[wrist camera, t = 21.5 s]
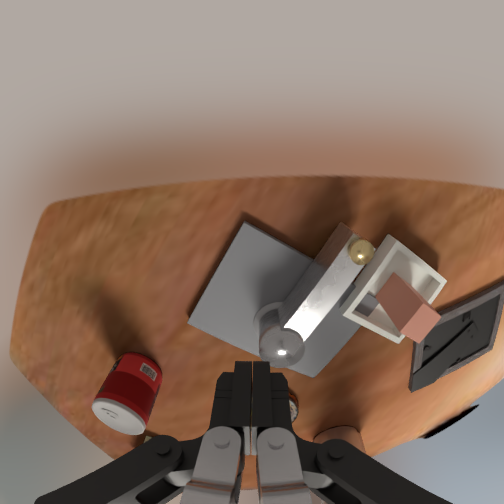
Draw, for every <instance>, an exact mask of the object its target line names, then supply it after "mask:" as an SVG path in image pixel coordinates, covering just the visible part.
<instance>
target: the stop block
mask: <svg viewBox="0 0 504 504" xmlns="http://www.w3.org/2000/svg"><path fill="white" fill-rule="evenodd" d="M375 298H376V299H377V300H378V302H379V303H380V305H381V306H382V307H383V309H384V310H385V312H386V313H387V315H388V316H389V317H390V319H391V320H392V322H393V323H394V325H395V326H396V328H397V329H398V330H399V332H400V333H402V334H404V335H405V336H407V337H409V338H410V339H412V340H414V341H415V342H417V343H420V342H421V341H422V340H423V339H424V338H425V336H426V335H427V334H428V333H429V332H430V330H431V329H432V328H433V327H434V326H435V324H436V323H437V322H438V321H439V319H440V318H441V316H440V315H439V314H438V313H437V312H436V310H435V309H434V308H433V307H432V306H431V305H430V304H429V303H428V302H427V301H426V300H425V299H424V298H423V297H422V296H421V295H420V294H419V293H418V292H417V291H416V290H415V289H414V288H413V287H412V286H411V285H410V284H409V283H407V282H406V281H405V280H404V279H402V278H401V277H400V276H398V275H397V274H396V273H394V272H393V273H392V275H391V276H390V277H389V279H388V280H387V281H386V283H385V284H384V285H383V287H382V288H381V289H380V291H379V292H378V293H377V294H376V296H375Z"/></svg>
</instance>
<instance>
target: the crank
mask: <svg viewBox="0 0 504 504" xmlns="http://www.w3.org/2000/svg"><path fill="white" fill-rule="evenodd" d="M375 250H376V249H375V248H374V247H373V245H372V244H371V243H370V242H369V241H368V240H366V239H365V238H363V237H362V236H361V235H359V234H358V233H356V232H355V231H354V230H352V229H351V228H349V227H348V226H346V225H345V224H344V223H342V222H341V221H340V223H339V224H338V226H337V227H336V229H335V230H334V232H333V233H332V235H331V236H330V238H329V239H328V240H327V242H326V243H325V245H324V246H323V248H322V249H321V251H320V252H319V253H318V255H317V256H316V258H315V259H314V261H313V262H312V263H311V265H310V266H309V268H308V269H307V270H306V272H305V273H304V275H303V276H302V277H301V279H300V280H299V281H298V283H297V284H296V286H295V287H294V288H293V290H292V291H291V292H290V294H289V295H288V296H287V298H286V299H285V300H284V302H283V303H282V305H281V306H280V307H279V308H277V309H272V310H270V311H268V312H267V313H265V314H264V315H263V316H262V318H261V319H260V322H259V355H260V358H261V360H262V361H270V366H271V367H276V368H285V367H289V366H292V365H294V364H296V363H297V362H299V361H300V360H301V358H302V357H303V355H304V352H305V346H304V341H305V339H306V338H307V337H308V336H309V335H310V334H311V332H312V331H313V330H314V329H315V328H316V326H317V325H318V324H319V323H320V322H321V320H322V319H323V318H324V317H325V316H326V314H327V313H328V312H329V311H330V309H331V308H332V307H333V306H334V304H335V303H336V302H337V301H338V299H339V298H340V297H341V296H342V294H343V293H344V292H345V290H346V289H347V288H348V287H349V285H350V284H351V283H352V281H353V280H354V279H355V277H356V276H357V275H358V273H359V272H360V270H361V269H362V268H363V266H364V265H365V264H367V263H369V262H370V261H371V260H372V258H373V256H374V251H375Z"/></svg>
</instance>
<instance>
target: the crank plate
mask: <svg viewBox="0 0 504 504" xmlns="http://www.w3.org/2000/svg"><path fill="white" fill-rule="evenodd" d="M313 261H314V260H313V259H312V258H310V257H308V256H306V255H305V254H303V253H301V252H299V251H298V250H296V249H294V248H292V247H291V246H289V245H287V244H285V243H284V242H282V241H280V240H278V239H277V238H275V237H273V236H271V235H270V234H268V233H266V232H264V231H262V230H261V229H259V228H257V227H255V226H254V225H252V224H250V223H248V222H246V221H244V222H243V224H242V226H241V227H240V229H239V231H238V233H237V234H236V236H235V238H234V239H233V241H232V243H231V245H230V246H229V248H228V250H227V252H226V253H225V255H224V257H223V259H222V260H221V262H220V264H219V266H218V267H217V269H216V271H215V273H214V275H213V276H212V278H211V280H210V282H209V283H208V285H207V287H206V289H205V291H204V292H203V294H202V296H201V298H200V299H199V301H198V303H197V305H196V307H195V308H194V310H193V312H192V314H191V316H190V318H189V320H188V322H187V323H188V324H190V325H192V326H194V327H196V328H198V329H200V330H202V331H204V332H206V333H208V334H210V335H213V336H215V337H217V338H219V339H221V340H223V341H225V342H227V343H230V344H232V345H234V346H236V347H239V348H241V349H243V350H245V351H248V352H250V353H252V354H254V355H257V356H259V357H260V355H259V322H260V319H261V318H262V316H263V315H264V314H265V313H267V312H268V311H270V310H272V309H277V308H279V307H280V306H281V305H282V303H283V302H284V300H285V299H286V298H287V296H288V295H289V294H290V292H291V291H292V290H293V288H294V287H295V286H296V284H297V283H298V281H299V280H300V279H301V277H302V276H303V275H304V273H305V272H306V270H307V269H308V268H309V266H310V265H311V263H312V262H313ZM355 287H356V286H355V284H354V283H353V282H352V283H351V284H350V285H349V287H348V288H347V289H346V290H345V292H344V293H343V294H342V296H341V297H340V298H339V299H338V301H337V302H336V303H335V304H334V306H333V307H332V308H331V309H330V311H329V312H328V313H327V314H326V316H325V317H324V318H323V319H322V320H321V322H320V323H319V324H318V325H317V326H316V328H315V329H314V330H313V331H312V332H311V334H310V335H309V336H308V337H307V338H306V339H305V341H304V346H305V352H304V355H303V357H302V358H301V360H300V361H299V362H297V363H296V364H294V365H292V366H289V367H286V368H289V369H291V370H294V371H296V372H299V373H302V374H304V375H307V376H310V377H312V378H314V377H315V376H316V375H317V374H318V373H319V372H320V371H321V370H322V369H323V368H324V367H325V366H326V365H327V364H328V363H329V362H330V360H331V359H332V358H333V357H334V356H335V355H336V354H337V353H338V352H339V351H340V349H341V348H342V347H343V346H344V345H345V344H346V343H347V342H348V340H349V339H350V338H351V337H352V336H353V335H354V333H355V332H356V331H357V330H358V329H359V328H360V326H361V325H360V324H358V323H356V322H354V321H352V320H350V319H348V318H347V317H345V316H343V315H342V313H341V311H340V309H339V308H340V307H341V306H342V305H343V303H344V302H345V301H346V299H347V298H348V297H349V295H350V294H351V293H352V291H353V290H354V289H355ZM378 304H379V302H378V300H377V299H376V298H375V297H374V296H372V295H371V294H369V293H366V295H365V296H364V297H363V299H362V300H361V301H360V303H359V304H358V305H357V306H356V308H355V309H354V310H356V311H357V312H359V313H361V314H363V315H365V316H367V317H369V315H370V314H371V313H372V312H373V310H374V309H375V308H376V307H377V305H378Z"/></svg>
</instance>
